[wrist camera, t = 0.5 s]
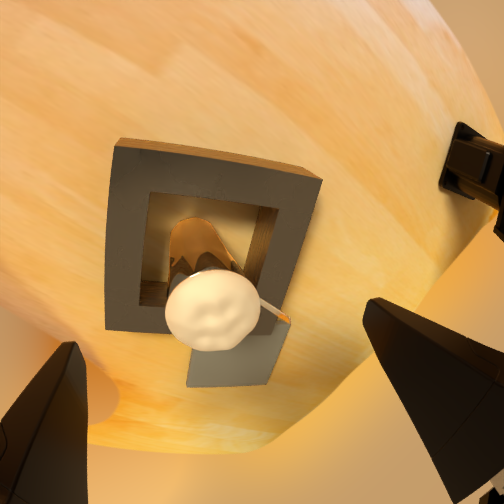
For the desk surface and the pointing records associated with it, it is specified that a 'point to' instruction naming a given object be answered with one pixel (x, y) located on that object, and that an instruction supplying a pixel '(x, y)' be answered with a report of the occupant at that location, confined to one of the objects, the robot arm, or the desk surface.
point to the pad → (238, 361)
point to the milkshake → (209, 290)
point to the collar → (205, 186)
